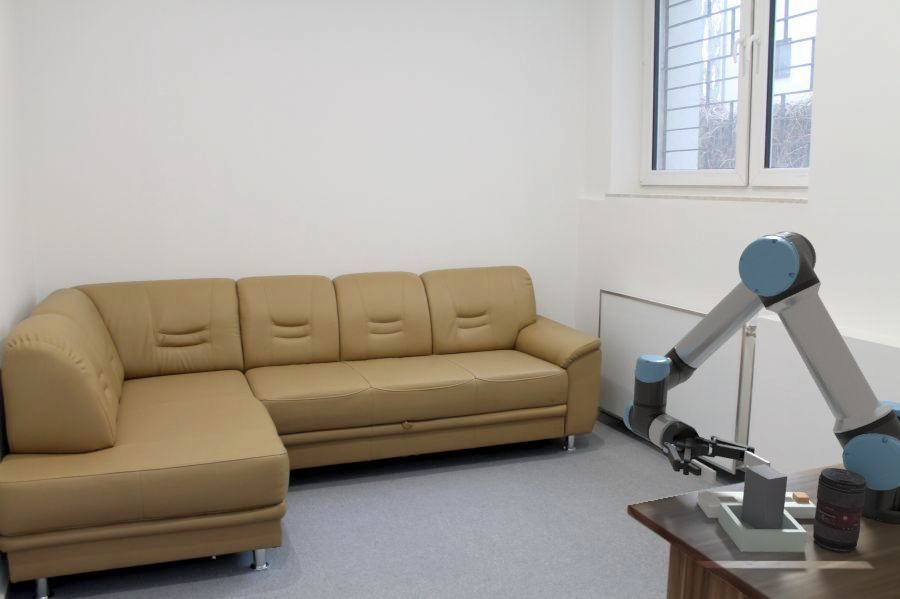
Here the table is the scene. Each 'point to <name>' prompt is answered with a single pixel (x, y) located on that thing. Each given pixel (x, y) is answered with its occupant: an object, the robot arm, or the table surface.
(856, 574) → the table surface
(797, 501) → the strip
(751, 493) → the tall grey pillar
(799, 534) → the bin
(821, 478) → the camera lens
